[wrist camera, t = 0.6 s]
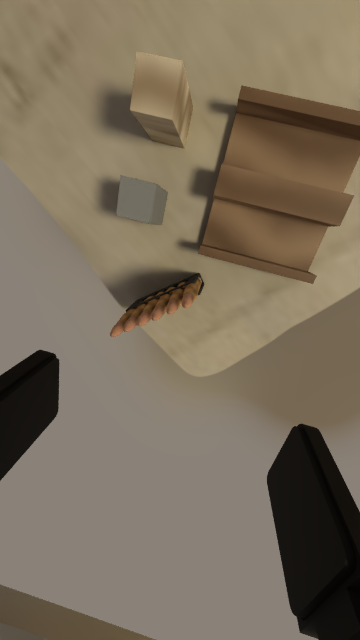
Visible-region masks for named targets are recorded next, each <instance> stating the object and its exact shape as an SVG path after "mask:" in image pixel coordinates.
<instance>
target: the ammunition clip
mask: <svg viewBox="0 0 360 640" xmlns="http://www.w3.org/2000/svg"><path fill="white" fill-rule="evenodd" d="M203 286H204V282H203V280H202V278H201V275H200V273H198V274H196V275H194V276H191V277H189V278H187V279H184V280H182V281H180V282H178V283H175V284H173V285H171V286H168V287H166V288H164V289H161V290H159V291H157V292H155V293H152V294H150V295H148V296H145V297H143V298H141V299H138V300H137V301H135V302H134V303H133V304H132V305H131V306H130V307H129V308H128V309H127V310H126V313H125V314H124V315H123V316H122V317H121V318H120V320H119V321H118V322H117V324H116V325H115V326H114V327H113V328H112V331H111V333H110V336H111V337H114V336H117V335H119V334H120V333H122V332H123V331H125V332H127V331H130V330H132V329H133V328H134V327H135V326H136V325H138V326H142V325H145V324H146V323H147V322H148V321H149V320H150V319H151V318H152V320H157V319H159V318H160V317H161V316H162V315H163V314H164V313H165V312H167V314H173V313H174V312H175V311H176V310H177V309H178V308H179V307H180V306H181V305H182V306H183V307H184V308H188V307H189V306H191V304H192V303H193V301H194V300H195V299H196V297H197V295H200V293H201V291H202V289H203Z"/></svg>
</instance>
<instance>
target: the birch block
mask: <svg viewBox="0 0 360 640" xmlns="http://www.w3.org/2000/svg"><path fill="white" fill-rule="evenodd" d="M192 110H193V105H192V101H191V96H190V91H189V87H188V82H187V78H186V73H185V68H184V64H183V61H180V60H176V59H171V58H166V57H162V56H157V55H152V54H148V53H143V52H138V51H137V55H136V64H135V72H134V80H133V89H132V97H131V105H130V111H131V112H132V114H133V115H134V116H135V118H136V119H137V120H138V122H139V123H140V124H141V126H142V127H143V128H144V130H145V131H146V132H147V134H148V135H149V136H150V138H151V139H152V140H153V141H155V142H160V143H164V144H168V145H172V146H177V147H181V148H185V144H186V139H187V134H188V130H189V125H190V120H191V115H192Z"/></svg>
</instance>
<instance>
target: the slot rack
mask: <svg viewBox="0 0 360 640" xmlns="http://www.w3.org/2000/svg"><path fill="white" fill-rule="evenodd" d="M359 156H360V111H356V110H351V109H347V108H342V107H337V106H333V105H328V104H324V103H319V102H315V101H310V100H305V99H301V98H296V97H292V96H287V95H283V94H278V93H273V92H269V91H264V90H260V89H255V88H251V87H246V86H241V90H240V94H239V98H238V105H237V111H236V116H235V120H234V124H233V127H232V131H231V135H230V139H229V143H228V147H227V150H226V154H225V158H224V162H223V164H221V168H220V172H219V176H218V179H217V183H216V187H215V191H214V200H213V204H212V208H211V212H210V216H209V220H208V224H207V227H206V231H205V235H204V239H203V243H202V244H201V245H200V249H199V253H198V254H201V255H205V256H209V257H213V258H217V259H220V260H224V261H228V262H232V263H236V264H239V265H243V266H247V267H251V268H255V269H258V270H262V271H266V272H270V273H274V274H277V275H281V276H285V277H289V278H293V279H296V280H300V281H304V282H308V283H312V284H313V283H314V280H315V278H316V275H314V274H312V273H310V272H308V270H309V268H310V265H311V263H312V261H313V259H314V256H315V254H316V252H317V250H318V248H319V245H320V243H321V241H322V239H323V236H324V234H325V232H326V230H327V227H328V226H340V225H341V222H342V220H343V218H344V216H345V214H346V212H347V210H348V207H349V205H350V203H351V201H352V199H353V197H354V195H350V194H346V193H343V192H344V190H345V187H346V185H347V183H348V181H349V178H350V176H351V174H352V172H353V169H354V167H355V165H356V163H357V161H358V158H359Z"/></svg>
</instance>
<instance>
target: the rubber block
mask: <svg viewBox="0 0 360 640" xmlns="http://www.w3.org/2000/svg"><path fill="white" fill-rule="evenodd" d="M167 195H168V192H167V191H166V190H164V189H163V188H161V187H160V186H159V185H157V184H154V183H150V182H146V181H142V180H138V179H134V178H130V177H126V176H122V175H121V177H120V186H119V194H118V203H117V211H116V215H117V216H121V217H125V218H129V219H133V220H137V221H140V222H144V223H148V224H158V225H162V221H163V216H164V211H165V206H166V200H167Z"/></svg>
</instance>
